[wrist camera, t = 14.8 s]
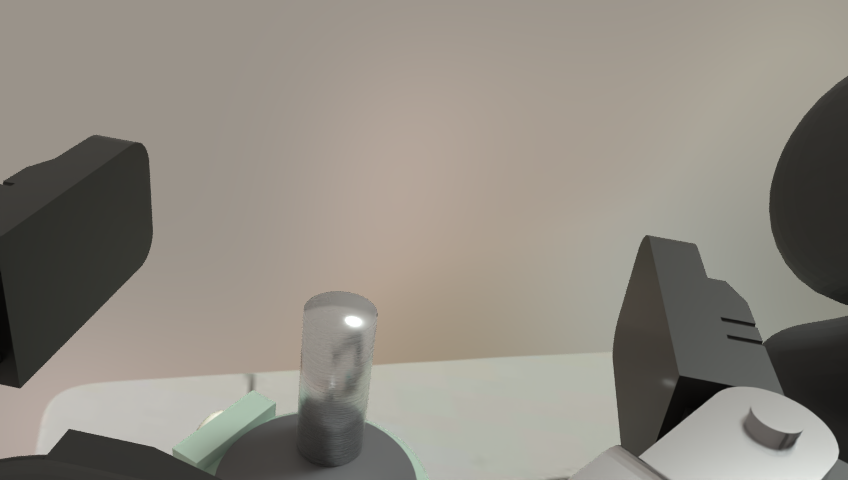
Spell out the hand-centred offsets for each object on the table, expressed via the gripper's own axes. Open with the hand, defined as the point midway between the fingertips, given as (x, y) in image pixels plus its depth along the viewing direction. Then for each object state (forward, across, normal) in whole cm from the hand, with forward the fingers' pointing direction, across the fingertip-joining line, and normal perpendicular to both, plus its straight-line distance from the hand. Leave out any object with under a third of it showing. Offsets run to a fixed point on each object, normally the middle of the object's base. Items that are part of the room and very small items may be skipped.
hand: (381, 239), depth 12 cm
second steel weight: (+25, +6, +29) cm, 39 cm away
